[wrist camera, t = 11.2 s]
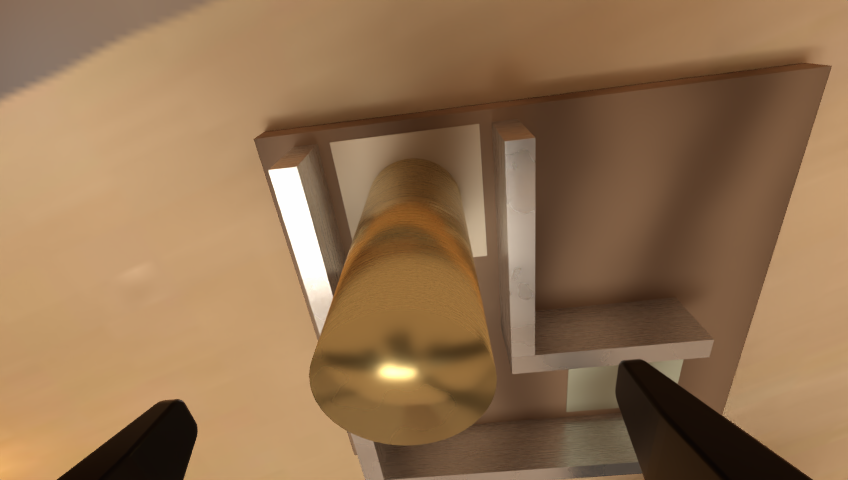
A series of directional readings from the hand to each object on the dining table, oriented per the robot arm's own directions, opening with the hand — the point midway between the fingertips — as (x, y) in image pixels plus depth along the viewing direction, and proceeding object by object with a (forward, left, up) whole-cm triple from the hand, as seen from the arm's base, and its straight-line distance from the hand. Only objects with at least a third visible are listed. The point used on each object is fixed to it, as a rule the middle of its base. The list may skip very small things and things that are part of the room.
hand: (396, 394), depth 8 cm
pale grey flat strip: (-5, +7, -12) cm, 14 cm away
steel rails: (-4, +6, -10) cm, 13 cm away
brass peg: (0, 0, -10) cm, 10 cm away
